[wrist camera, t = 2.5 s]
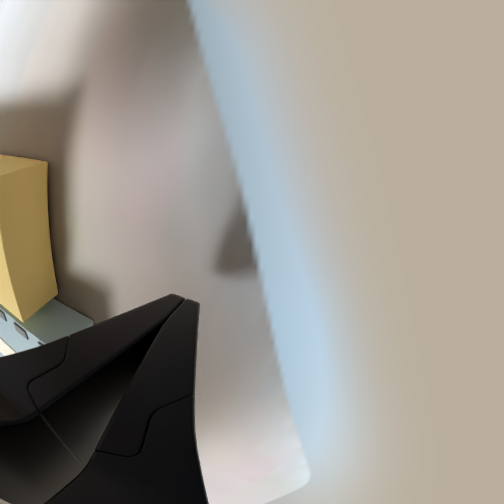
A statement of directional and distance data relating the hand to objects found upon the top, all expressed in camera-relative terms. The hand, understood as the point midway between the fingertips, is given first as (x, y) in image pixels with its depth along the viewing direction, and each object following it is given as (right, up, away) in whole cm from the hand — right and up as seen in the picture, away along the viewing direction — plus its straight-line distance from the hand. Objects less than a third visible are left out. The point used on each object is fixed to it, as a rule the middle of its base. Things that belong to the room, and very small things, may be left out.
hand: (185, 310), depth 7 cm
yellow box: (-10, +4, +2) cm, 11 cm away
